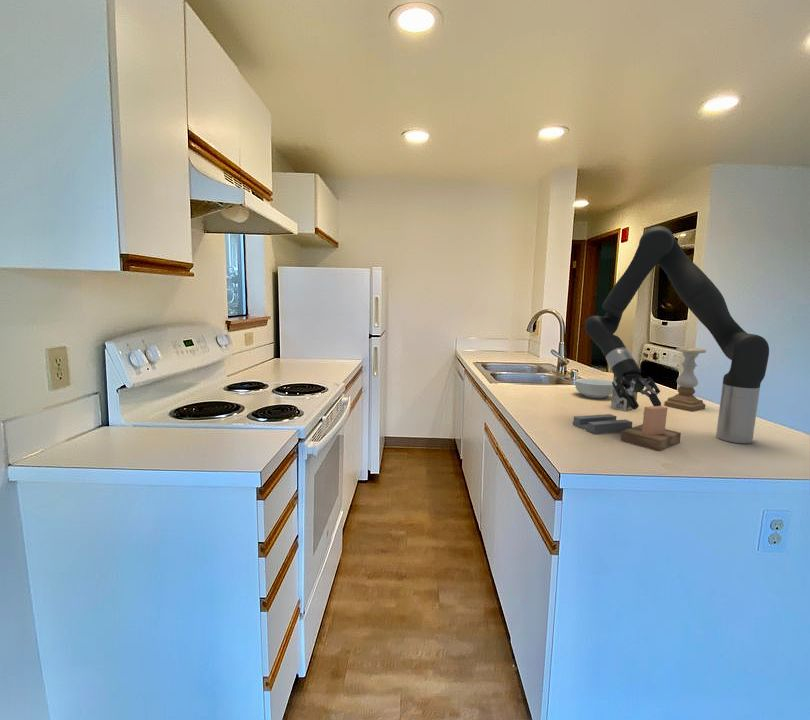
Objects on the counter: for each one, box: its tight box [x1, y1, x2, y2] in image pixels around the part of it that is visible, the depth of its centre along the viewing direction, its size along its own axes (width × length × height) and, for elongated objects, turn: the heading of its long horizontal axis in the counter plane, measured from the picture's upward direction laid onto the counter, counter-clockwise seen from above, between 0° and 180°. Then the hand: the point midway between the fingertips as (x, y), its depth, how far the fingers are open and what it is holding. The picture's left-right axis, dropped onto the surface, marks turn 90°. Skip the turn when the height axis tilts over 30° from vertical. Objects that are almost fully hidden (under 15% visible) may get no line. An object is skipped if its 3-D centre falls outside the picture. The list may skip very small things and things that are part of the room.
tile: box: [642, 405, 668, 435], centre depth 132 cm, size 6×2×8 cm, turn 107°
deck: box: [620, 423, 682, 452], centre depth 134 cm, size 14×11×3 cm
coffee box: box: [610, 375, 638, 412], centre depth 174 cm, size 9×6×16 cm
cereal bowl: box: [574, 377, 613, 400], centre depth 195 cm, size 17×17×7 cm
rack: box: [572, 413, 633, 435], centre depth 147 cm, size 15×11×3 cm
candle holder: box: [663, 347, 707, 412], centre depth 178 cm, size 11×11×24 cm
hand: (647, 407), depth 134 cm, fingers open, 8 cm apart
